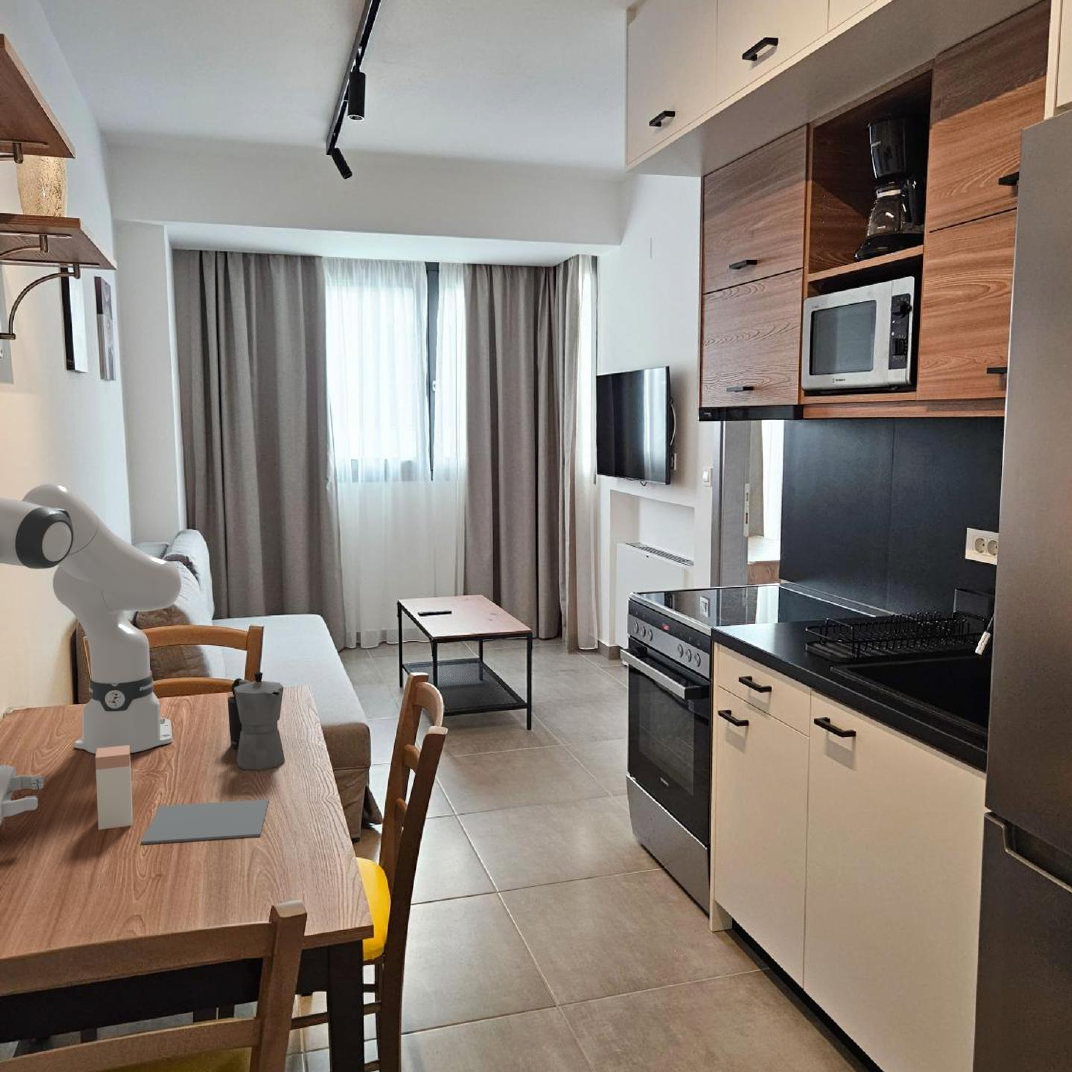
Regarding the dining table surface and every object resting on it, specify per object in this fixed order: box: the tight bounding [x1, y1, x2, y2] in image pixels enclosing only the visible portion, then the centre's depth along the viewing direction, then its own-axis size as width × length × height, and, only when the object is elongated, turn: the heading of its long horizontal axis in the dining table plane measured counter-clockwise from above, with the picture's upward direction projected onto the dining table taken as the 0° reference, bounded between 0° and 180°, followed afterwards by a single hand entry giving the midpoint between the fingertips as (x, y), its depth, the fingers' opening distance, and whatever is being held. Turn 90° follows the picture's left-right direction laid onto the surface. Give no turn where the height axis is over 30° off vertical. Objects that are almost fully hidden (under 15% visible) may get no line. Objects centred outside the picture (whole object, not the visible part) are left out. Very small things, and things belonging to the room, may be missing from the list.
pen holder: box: [227, 695, 242, 751], centre depth 201 cm, size 9×9×10 cm
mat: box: [140, 798, 270, 845], centre depth 162 cm, size 15×18×1 cm
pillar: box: [94, 745, 133, 831], centre depth 161 cm, size 5×5×12 cm
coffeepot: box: [231, 671, 286, 771], centre depth 191 cm, size 15×9×18 cm, turn 50°
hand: (40, 791), depth 157 cm, fingers open, 8 cm apart
